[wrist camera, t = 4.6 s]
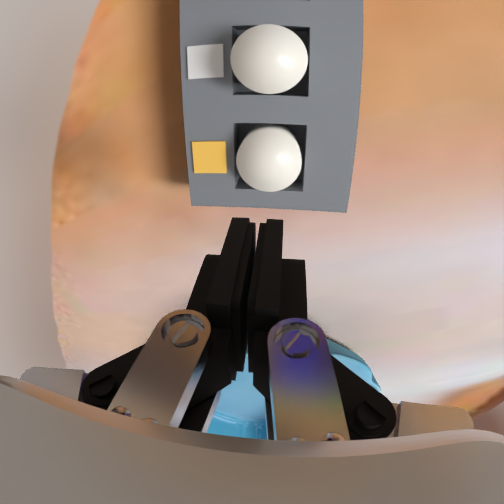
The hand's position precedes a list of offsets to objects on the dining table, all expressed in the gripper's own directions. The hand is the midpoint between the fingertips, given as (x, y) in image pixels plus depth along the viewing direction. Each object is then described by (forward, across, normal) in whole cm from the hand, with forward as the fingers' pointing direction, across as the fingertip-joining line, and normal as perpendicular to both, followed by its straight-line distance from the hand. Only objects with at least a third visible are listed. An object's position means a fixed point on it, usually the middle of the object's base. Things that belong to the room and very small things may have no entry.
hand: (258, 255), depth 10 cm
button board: (+16, 0, -6) cm, 18 cm away
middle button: (+13, 0, -6) cm, 15 cm away
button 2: (+15, 0, +1) cm, 15 cm away
